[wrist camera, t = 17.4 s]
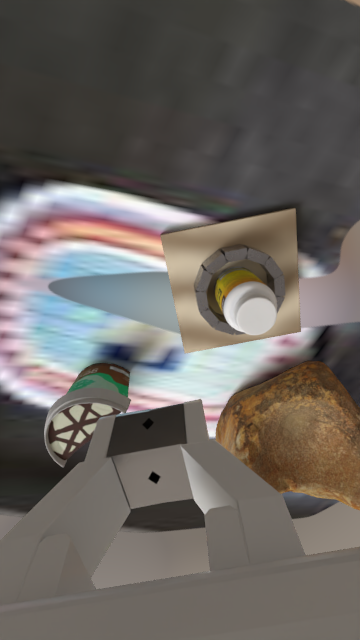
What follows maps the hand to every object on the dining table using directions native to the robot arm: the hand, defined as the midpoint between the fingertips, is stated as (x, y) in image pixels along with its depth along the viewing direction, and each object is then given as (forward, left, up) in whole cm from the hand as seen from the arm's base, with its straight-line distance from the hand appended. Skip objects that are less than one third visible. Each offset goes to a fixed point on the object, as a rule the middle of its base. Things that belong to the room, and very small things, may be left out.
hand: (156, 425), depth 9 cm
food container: (+16, -14, -31) cm, 38 cm away
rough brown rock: (+25, +14, -31) cm, 43 cm away
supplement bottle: (+6, +8, -30) cm, 32 cm away
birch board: (+6, +8, -31) cm, 33 cm away
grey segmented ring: (+6, +8, -30) cm, 32 cm away
